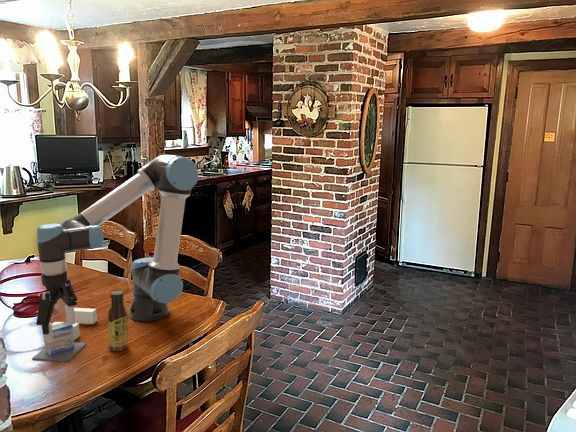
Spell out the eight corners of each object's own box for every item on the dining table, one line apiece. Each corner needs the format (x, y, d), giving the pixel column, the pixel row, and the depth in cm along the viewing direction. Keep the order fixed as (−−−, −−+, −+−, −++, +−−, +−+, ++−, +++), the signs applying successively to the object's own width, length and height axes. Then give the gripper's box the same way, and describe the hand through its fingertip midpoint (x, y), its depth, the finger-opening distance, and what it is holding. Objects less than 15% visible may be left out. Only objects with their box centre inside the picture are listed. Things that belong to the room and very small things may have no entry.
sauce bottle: (116, 354, 157) (113, 298, 153) (104, 349, 160) (101, 293, 156) (132, 346, 163) (130, 292, 159) (120, 341, 166) (117, 288, 162)
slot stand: (96, 321, 182) (96, 308, 181) (75, 339, 167) (74, 326, 166) (74, 319, 183) (73, 307, 182) (51, 338, 167) (49, 325, 166)
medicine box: (50, 356, 153) (48, 331, 152) (45, 351, 156) (43, 327, 155) (74, 348, 159) (73, 324, 157) (69, 344, 162) (67, 320, 160)
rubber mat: (86, 344, 163) (86, 343, 163) (68, 361, 151) (67, 360, 151) (53, 342, 164) (52, 341, 164) (32, 359, 152) (32, 358, 152)
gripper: (63, 259, 165) (69, 316, 169) (18, 285, 140) (26, 350, 145) (84, 260, 164) (89, 317, 169) (42, 286, 140) (50, 351, 144)
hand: (60, 332), depth 157 cm, fingers open, 13 cm apart
